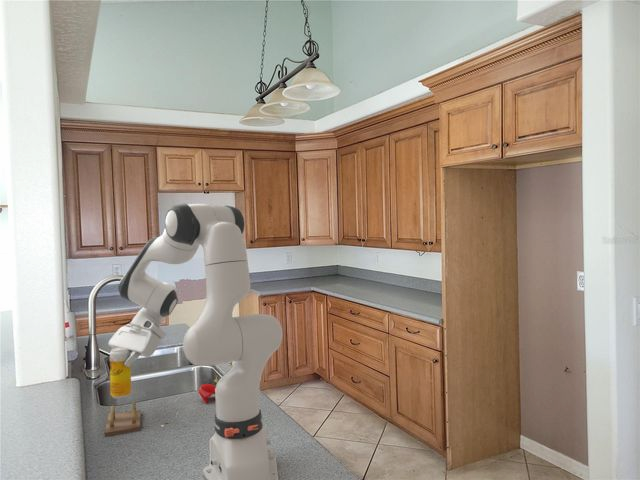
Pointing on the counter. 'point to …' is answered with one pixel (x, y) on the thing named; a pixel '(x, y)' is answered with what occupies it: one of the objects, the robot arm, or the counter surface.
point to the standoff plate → (123, 421)
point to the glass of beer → (119, 373)
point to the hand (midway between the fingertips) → (118, 363)
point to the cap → (206, 391)
